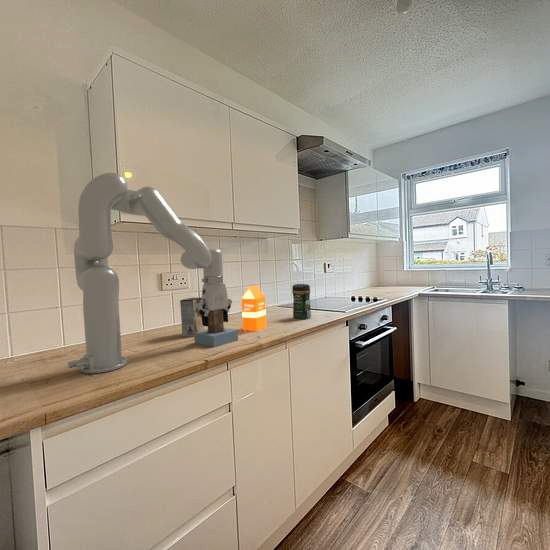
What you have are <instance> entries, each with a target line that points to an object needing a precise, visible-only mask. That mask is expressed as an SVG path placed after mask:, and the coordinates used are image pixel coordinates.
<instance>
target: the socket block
mask: <svg viewBox="0 0 550 550" xmlns="http://www.w3.org/2000/svg"><path fill="white" fill-rule="evenodd" d="M236 340H237V341H239V331H238V329H233V328H226V327H224V332H220V333H216V334H214V333H208V329H204V331H200V332H196V333H195V336H194V343H195V344H199V345H203V346H206V347H207V346H208V347H212V348H215V347H220V346H222V345H226V343H227V344H230V343H232V341H233V342H236ZM229 342H230V343H229Z"/></svg>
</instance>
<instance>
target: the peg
mask: <svg viewBox="0 0 550 550" xmlns="http://www.w3.org/2000/svg"><path fill="white" fill-rule="evenodd" d="M207 316H208V318H209V326H207V330H208V333H214V334H216V333H220V332H224V328H225V327H224V326H225V325H224V324H225V322H223V309H219V310H213V311H209V313H208V314H207Z"/></svg>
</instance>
